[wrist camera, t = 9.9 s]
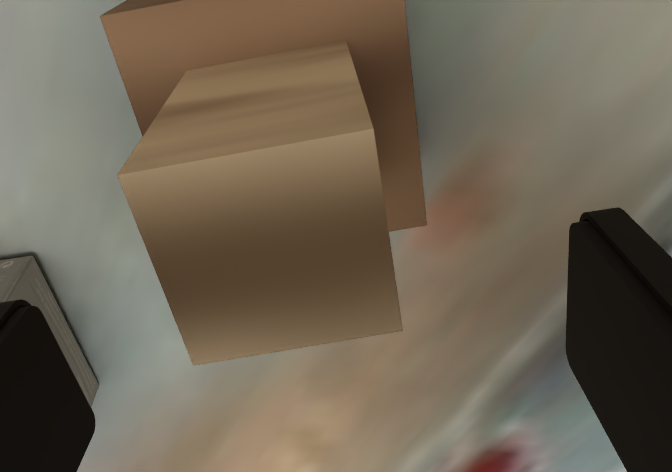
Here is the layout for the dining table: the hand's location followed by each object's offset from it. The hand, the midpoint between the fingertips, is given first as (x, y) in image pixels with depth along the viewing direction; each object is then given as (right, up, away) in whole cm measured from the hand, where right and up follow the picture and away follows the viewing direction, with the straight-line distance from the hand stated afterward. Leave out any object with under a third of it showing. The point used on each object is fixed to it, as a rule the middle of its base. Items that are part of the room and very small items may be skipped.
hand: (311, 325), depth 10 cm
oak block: (-1, +5, +7) cm, 8 cm away
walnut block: (-1, +7, +11) cm, 13 cm away
